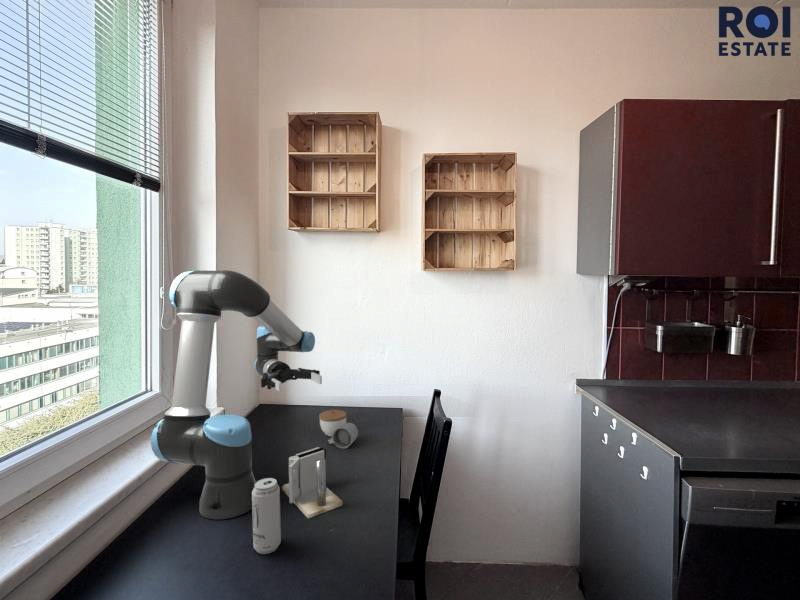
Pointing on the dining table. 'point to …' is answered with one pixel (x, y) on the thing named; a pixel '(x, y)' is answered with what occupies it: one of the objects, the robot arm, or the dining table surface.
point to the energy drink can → (266, 516)
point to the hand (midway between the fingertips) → (301, 383)
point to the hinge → (304, 471)
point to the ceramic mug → (344, 435)
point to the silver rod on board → (320, 491)
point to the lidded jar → (332, 420)
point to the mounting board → (313, 508)
